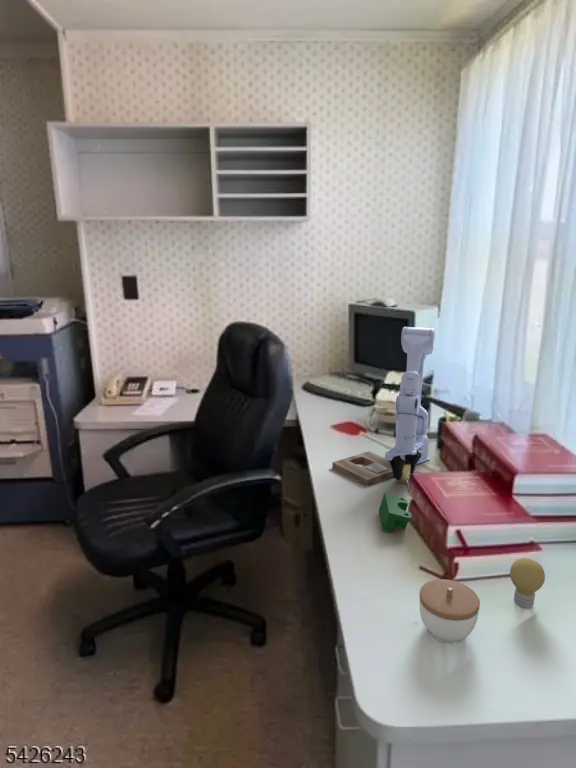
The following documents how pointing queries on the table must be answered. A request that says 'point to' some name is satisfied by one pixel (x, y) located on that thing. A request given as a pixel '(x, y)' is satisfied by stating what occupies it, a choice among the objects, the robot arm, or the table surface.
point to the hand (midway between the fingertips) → (403, 476)
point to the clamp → (394, 512)
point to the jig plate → (365, 468)
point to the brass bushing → (405, 473)
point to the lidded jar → (448, 609)
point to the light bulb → (526, 581)
